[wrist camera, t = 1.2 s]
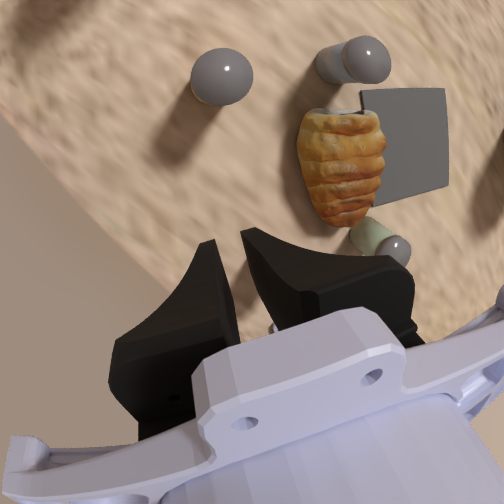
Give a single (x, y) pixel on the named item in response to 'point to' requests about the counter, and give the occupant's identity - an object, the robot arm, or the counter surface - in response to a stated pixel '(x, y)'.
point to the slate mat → (411, 140)
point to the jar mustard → (221, 77)
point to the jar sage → (379, 241)
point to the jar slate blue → (354, 62)
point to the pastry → (341, 162)
